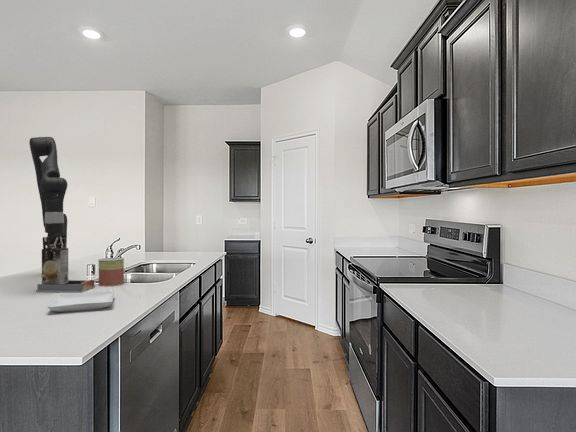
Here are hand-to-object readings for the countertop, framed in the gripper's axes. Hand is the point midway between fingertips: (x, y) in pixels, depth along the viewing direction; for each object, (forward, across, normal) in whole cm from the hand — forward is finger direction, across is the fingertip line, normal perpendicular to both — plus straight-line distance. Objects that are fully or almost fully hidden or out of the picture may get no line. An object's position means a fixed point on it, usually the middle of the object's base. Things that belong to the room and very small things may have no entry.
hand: (55, 258), depth 187 cm
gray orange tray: (+14, 0, +5) cm, 15 cm away
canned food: (+14, -14, +19) cm, 28 cm away
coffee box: (+12, 0, 0) cm, 12 cm away
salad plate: (+14, +28, +28) cm, 42 cm away
